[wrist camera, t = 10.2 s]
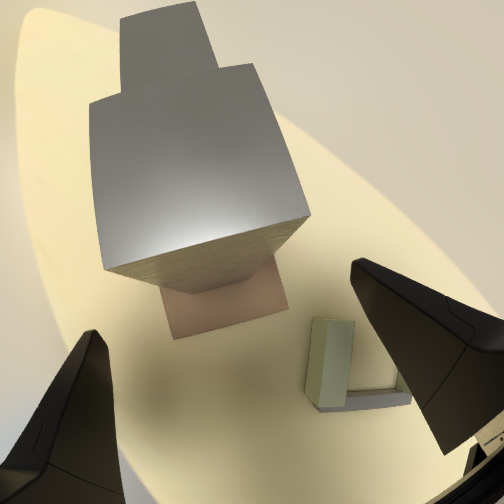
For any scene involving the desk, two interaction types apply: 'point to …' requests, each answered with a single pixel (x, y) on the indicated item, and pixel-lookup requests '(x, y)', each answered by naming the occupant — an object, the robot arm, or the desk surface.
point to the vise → (342, 372)
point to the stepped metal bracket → (188, 161)
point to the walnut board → (225, 303)
